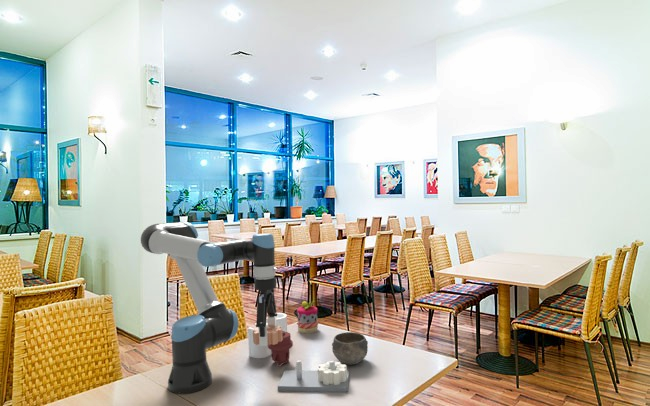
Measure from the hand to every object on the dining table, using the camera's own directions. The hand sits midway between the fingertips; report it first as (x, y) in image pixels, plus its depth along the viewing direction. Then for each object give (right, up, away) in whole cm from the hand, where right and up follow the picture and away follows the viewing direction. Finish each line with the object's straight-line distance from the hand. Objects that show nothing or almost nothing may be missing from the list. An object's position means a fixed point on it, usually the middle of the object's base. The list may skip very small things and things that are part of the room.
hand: (268, 340), depth 143 cm
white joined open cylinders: (-4, -16, +37) cm, 41 cm away
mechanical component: (+2, -16, +20) cm, 26 cm away
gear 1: (0, 0, 0) cm, 0 cm away
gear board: (+17, -16, +1) cm, 23 cm away
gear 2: (+23, -14, +1) cm, 27 cm away
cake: (+12, -15, +59) cm, 62 cm away
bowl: (+30, -15, +19) cm, 39 cm away
